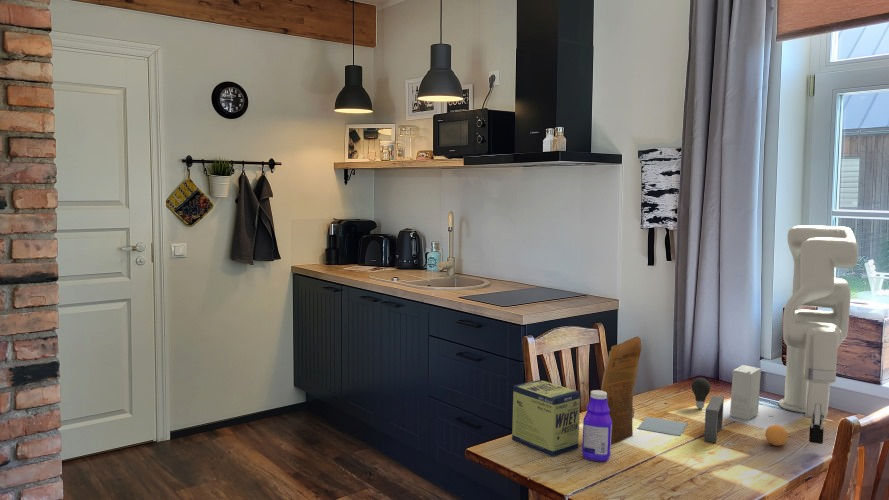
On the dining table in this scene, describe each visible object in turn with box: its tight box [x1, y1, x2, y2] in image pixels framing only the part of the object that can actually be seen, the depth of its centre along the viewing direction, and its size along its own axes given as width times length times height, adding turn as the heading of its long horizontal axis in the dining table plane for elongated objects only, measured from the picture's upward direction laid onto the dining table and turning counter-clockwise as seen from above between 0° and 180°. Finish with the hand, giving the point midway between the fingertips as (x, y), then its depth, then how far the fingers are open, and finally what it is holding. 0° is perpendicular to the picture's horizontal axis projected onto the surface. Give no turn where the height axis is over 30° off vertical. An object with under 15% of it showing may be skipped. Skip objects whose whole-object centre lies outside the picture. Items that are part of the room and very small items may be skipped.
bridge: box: [703, 395, 725, 444], centre depth 198 cm, size 3×14×9 cm, turn 152°
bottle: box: [581, 389, 612, 462], centre depth 180 cm, size 7×6×17 cm
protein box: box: [511, 379, 581, 457], centre depth 189 cm, size 10×16×16 cm
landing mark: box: [636, 416, 688, 437], centre depth 205 cm, size 12×12×1 cm
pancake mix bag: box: [600, 335, 642, 445], centre depth 194 cm, size 7×19×28 cm, turn 133°
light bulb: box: [691, 377, 711, 410], centre depth 222 cm, size 6×6×10 cm
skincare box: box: [729, 364, 762, 421], centre depth 216 cm, size 8×6×15 cm
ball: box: [764, 424, 788, 447], centre depth 191 cm, size 6×6×6 cm
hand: (815, 442), depth 186 cm, fingers closed
